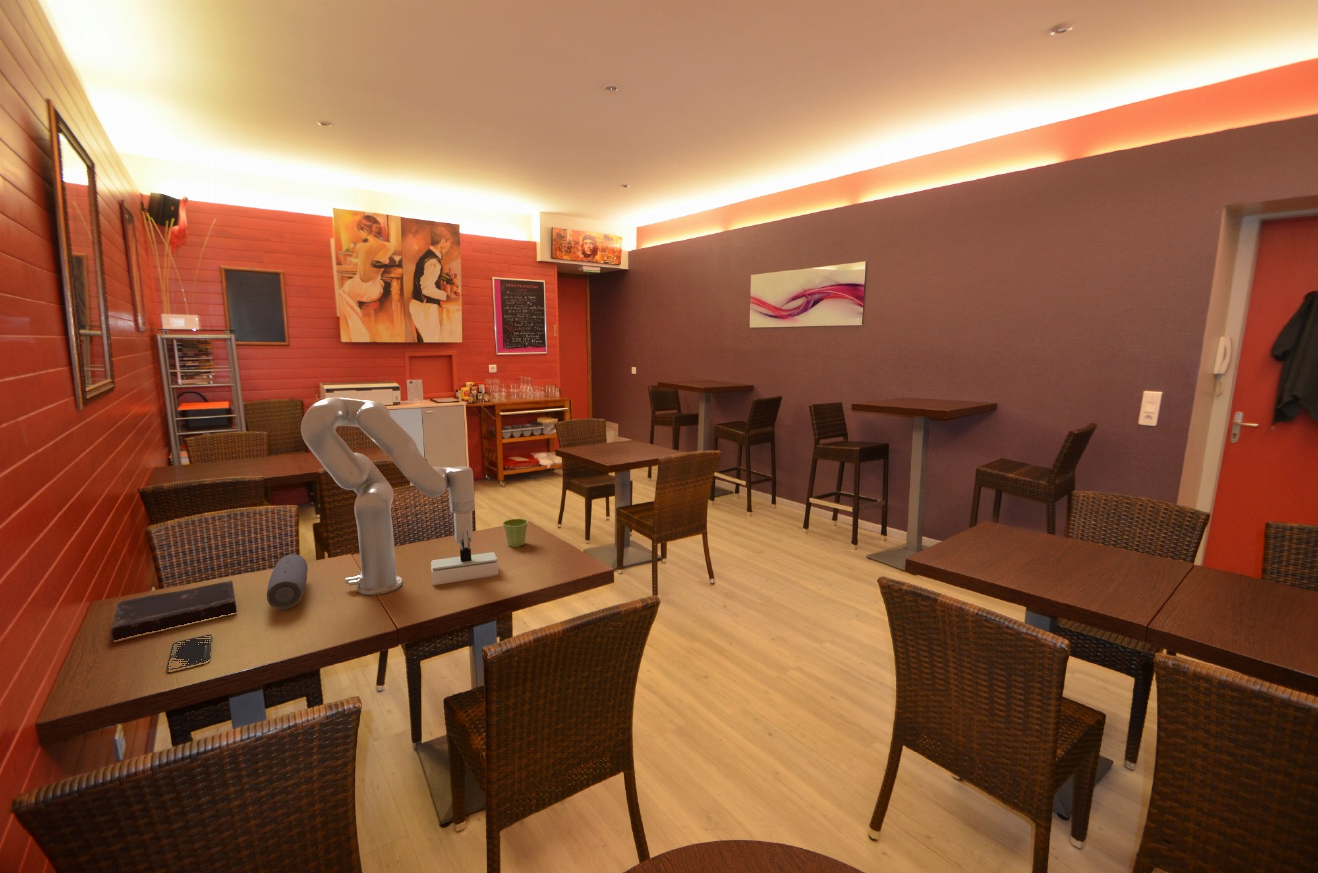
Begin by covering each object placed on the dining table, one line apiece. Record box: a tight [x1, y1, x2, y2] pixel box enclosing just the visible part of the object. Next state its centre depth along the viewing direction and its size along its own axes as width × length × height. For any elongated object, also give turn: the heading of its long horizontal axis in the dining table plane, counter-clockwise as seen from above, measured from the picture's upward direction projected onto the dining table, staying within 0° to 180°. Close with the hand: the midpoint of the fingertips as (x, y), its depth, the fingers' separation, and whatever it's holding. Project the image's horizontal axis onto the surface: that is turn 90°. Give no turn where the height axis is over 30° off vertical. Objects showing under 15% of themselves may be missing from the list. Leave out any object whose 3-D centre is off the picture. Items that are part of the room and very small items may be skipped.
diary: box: [111, 579, 238, 642], centre depth 157 cm, size 19×25×5 cm
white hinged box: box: [430, 560, 500, 586], centre depth 184 cm, size 20×8×4 cm, turn 113°
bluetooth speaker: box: [266, 553, 309, 610], centre depth 168 cm, size 23×9×10 cm, turn 28°
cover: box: [431, 551, 498, 571], centre depth 184 cm, size 20×8×1 cm, turn 113°
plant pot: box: [502, 518, 529, 548], centre depth 213 cm, size 9×9×9 cm
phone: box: [166, 634, 213, 671], centre depth 138 cm, size 8×1×15 cm
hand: (466, 560), depth 183 cm, fingers closed
